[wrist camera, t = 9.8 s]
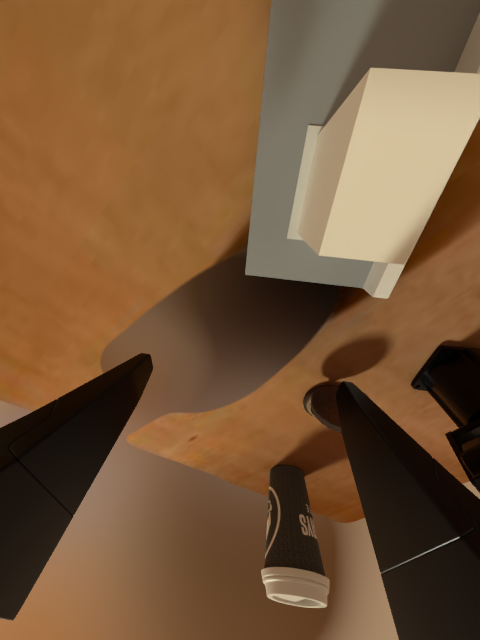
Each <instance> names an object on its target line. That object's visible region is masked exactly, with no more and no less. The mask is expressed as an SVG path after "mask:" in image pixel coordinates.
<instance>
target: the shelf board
mask: <svg viewBox="0 0 480 640" xmlns="http://www.w3.org/2000/svg"><path fill="white" fill-rule="evenodd" d="M370 68H387V69H404V70H422V71H440V72H457V73H475V74H480V0H272V1H271V11H270V22H269V32H268V42H267V53H266V63H265V73H264V84H263V94H262V105H261V115H260V125H259V136H258V146H257V156H256V167H255V177H254V187H253V198H252V208H251V218H250V229H249V239H248V249H247V261H246V271H245V274H246V275H253V276H262V277H271V278H280V279H288V280H297V281H306V282H314V283H323V284H332V285H341V286H349V287H358V288H363V289H364V290H366V291H367V292H368V293H369V294H370V295H371V296H372V297H377V298H386V299H388V298H389V296H390V294H391V292H392V290H393V288H394V286H395V284H396V282H397V280H398V278H399V276H400V274H401V272H402V270H403V268H404V266H405V265H402V264H393V263H383V262H374V261H365V260H355V259H346V258H337V257H327V256H318V254H317V253H316V252H315V251H314V250H313V249H312V248H311V247H310V246H309V245H308V244H307V243H306V242H305V241H304V240H303V239H302V238H301V237H300V236H299V235H298V234H297V229H298V224H299V219H300V215H301V210H302V205H303V200H304V196H305V191H306V186H307V181H308V177H309V172H310V167H311V162H312V158H313V153H314V148H315V143H316V139H317V136H318V134H319V133H320V132H321V130H322V129H323V128H324V127H325V125H326V124H327V123H328V122H329V120H330V119H331V118H332V116H333V115H334V114H335V113H336V111H337V110H338V109H339V107H340V106H341V105H342V104H343V102H344V101H345V100H346V98H347V97H348V96H349V95H350V93H351V92H352V91H353V90H354V88H355V87H356V86H357V84H358V83H359V82H360V81H361V79H362V78H363V77H364V75H365V74H366V73H367V72H368V70H369V69H370ZM479 118H480V117H479ZM478 120H479V119H478ZM477 122H478V121H477ZM476 124H477V123H476ZM475 126H476V125H475ZM474 128H475V127H474ZM473 130H474V129H473ZM472 132H473V131H472ZM471 134H472V133H471ZM470 136H471V135H470ZM469 138H470V137H469ZM468 140H469V139H468ZM467 142H468V141H467ZM466 144H467V143H466ZM465 146H466V145H465ZM464 148H465V147H464ZM463 150H464V149H463ZM462 152H463V151H462ZM461 154H462V153H461ZM460 156H461V155H460ZM459 158H460V157H459ZM458 160H459V159H458ZM457 162H458V161H457ZM442 191H443V190H442ZM441 193H442V192H441ZM440 195H441V194H440ZM439 197H440V196H439ZM438 199H439V198H438ZM437 201H438V200H437ZM436 203H437V202H436ZM435 205H436V204H435ZM434 207H435V206H434ZM433 209H434V208H433ZM432 211H433V210H432ZM431 213H432V212H431ZM430 215H431V214H430ZM429 217H430V216H429ZM428 219H429V218H428ZM427 221H428V220H427ZM426 223H427V222H426ZM425 225H426V224H425ZM424 227H425V226H424ZM423 229H424V228H423ZM422 231H423V230H422Z"/></svg>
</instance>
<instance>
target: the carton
mask: <svg viewBox="0 0 480 640" xmlns="http://www.w3.org/2000/svg"><path fill="white" fill-rule="evenodd" d="M479 117H480V74H475V73H457V72H440V71H422V70H404V69H387V68H370V69H369V70H368V72H367V73H366V74H365V75H364V77H363V78H362V79H361V81H360V82H359V83H358V84H357V86H356V87H355V88H354V90H353V91H352V92H351V93H350V95H349V96H348V97H347V98H346V100H345V101H344V102H343V104H342V105H341V106H340V107H339V109H338V110H337V111H336V113H335V114H334V115H333V116H332V118H331V119H330V120H329V122H328V123H327V124H326V125H325V127H324V128H323V129H322V130H321V132H320V133H319V134H318V136H317V139H316V143H315V148H314V153H313V158H312V162H311V167H310V172H309V177H308V181H307V186H306V191H305V196H304V200H303V205H302V210H301V215H300V219H299V224H298V229H297V234H298V235H299V236H300V237H301V238H302V239H303V240H304V241H305V242H306V243H307V244H308V245H309V246H310V247H311V248H312V249H313V250H314V251H315V252H316V253H317V254H318V256H327V257H337V258H346V259H355V260H365V261H374V262H383V263H393V264H402V265H405V264H406V262H407V260H408V258H409V256H410V254H411V252H412V250H413V248H414V246H415V244H416V242H417V240H418V238H419V236H420V234H421V232H422V230H423V228H424V226H425V224H426V222H427V220H428V218H429V216H430V214H431V212H432V210H433V208H434V206H435V204H436V202H437V200H438V198H439V196H440V194H441V192H442V190H443V189H444V187H445V185H446V183H447V181H448V179H449V177H450V175H451V173H452V171H453V169H454V167H455V165H456V163H457V161H458V159H459V157H460V155H461V153H462V151H463V149H464V147H465V145H466V143H467V141H468V139H469V137H470V135H471V133H472V131H473V129H474V127H475V125H476V123H477V121H478V119H479Z"/></svg>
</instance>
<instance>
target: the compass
mask: <svg viewBox="0 0 480 640" xmlns="http://www.w3.org/2000/svg"><path fill="white" fill-rule="evenodd" d="M338 388H339V387H336V386H322V387H318V388H315V389H313V390H311V391H309V392H308V393H307V394H306V395H305V397H304V400H303V404H304V408H305V410H306V411H307V412H308V413H309V414H310V415H312V416H315V417H316V418H317V419H318V420H319V421H320V422H321V423H322V424H324V425H325V426H327V427H328V428H330V429H332V430H335V431H337V432H340V433H342V432H341V427H340V421H339V415H338V409H337V403H336V392H337V390H338Z"/></svg>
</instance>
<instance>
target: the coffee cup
mask: <svg viewBox="0 0 480 640" xmlns="http://www.w3.org/2000/svg"><path fill="white" fill-rule="evenodd" d="M266 537H267V538H266V552H265V567H264V569H262V570H261V573H262V578H263V583H264V585H265V586H266V592H267V597H268V598H270V599H272V600H274V601H277V602H280V603H285V604H289V605H294V606H300V607H309V608H324V607H326V606H327V594H328V593H329V582H330V581H329V579H328V578H326V577H325V573H324V569H323V564H322V559H321V555H320V550H319V545H318V541H317V536H316V531H315V527H314V522H313V517H312V512H311V508H310V503H309V498H308V493H307V489H306V484H305V479H304V475H303V472H302V471H301V470H300V469H299V468H297V467H294V466H289V465H279V466H276V467H273V468H272V469H271V470H270V484H269V502H268V520H267V536H266Z"/></svg>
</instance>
